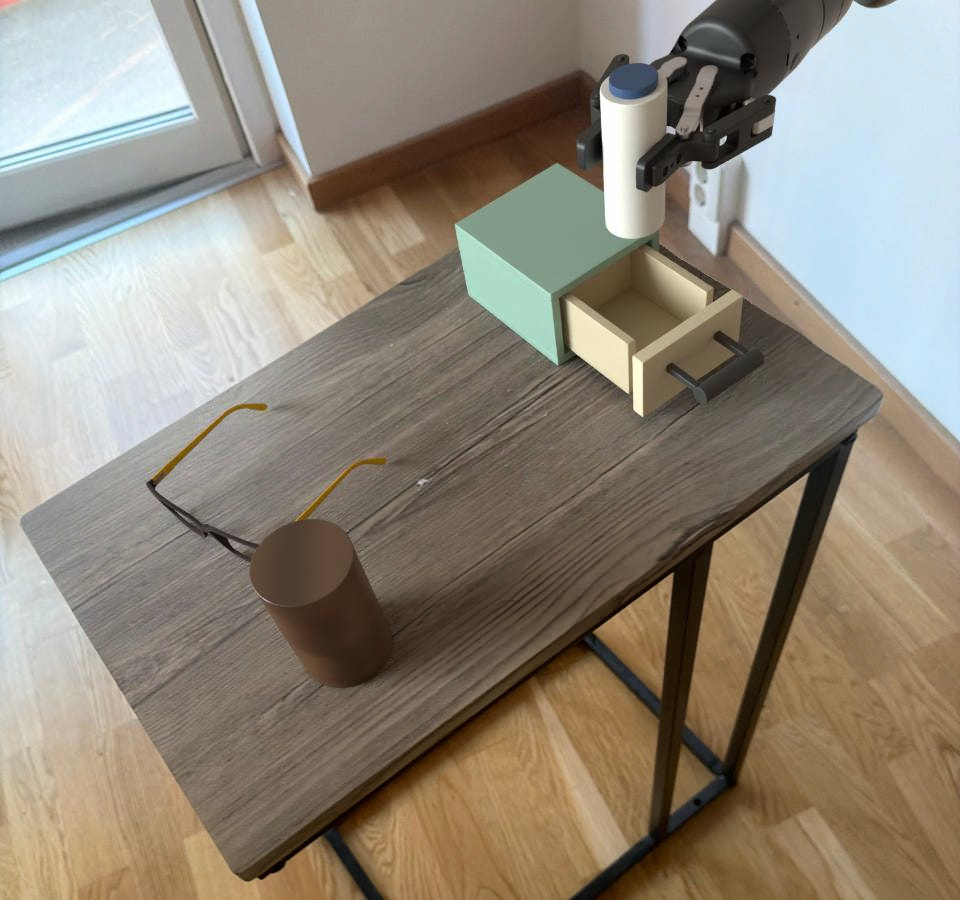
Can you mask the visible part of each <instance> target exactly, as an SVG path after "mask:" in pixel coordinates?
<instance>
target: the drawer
mask: <svg viewBox="0 0 960 900" xmlns="http://www.w3.org/2000/svg"><path fill="white" fill-rule="evenodd" d="M714 290H715V288H714V287H713V286H712V285H710V284H709V283H707V282H705V281H704V280H703V279H701V278H699V277H698V276H696V275H695V274H693V273H691V272H690V271H688V270H687V269H685V268H683V266H680V265H679V264H677V263H676V262H674V261H672V260H671V259H669V258H668V257H667V256H665V255H664V254H662V253H660V251H659V252H657V251H656V250H654V249H652V248H651V247H649V246H648V245H646V244H643V245H641V246H640V247H638V248H637V249H635V250H634V251H632V252H630V253H629V254H627V255H626V256H624V257H623V258H621V259H619V260H618V261H616V262H615V263H613V264H612V265H610V266H608V267H607V268H605V269H604V270H602V271H601V272H599V273H597V274H596V275H594V276H593V277H591V278H590V279H588V280H586V281H585V282H583V283H582V284H580V285H579V286H577V287H575V288H574V289H572V290H571V291H569V292H568V293H566V294H564V295H563V296H561V297H560V298H559V304H560V314H561V324H562V335H563V344H564V345H565V346H567V347H568V348H569V349H571V350H572V351H573V352H574V353H576V355H577V356H578V357H580V358H581V359H582V360H583V361H585V362H586V363H587V364H588V365H590V366H591V367H592V368H594V369H595V370H596V371H597V372H599V373H600V374H602V375H603V376H604V377H606V378H607V379H608V380H609V381H611V382H612V383H613V384H614V385H616V386H617V387H619V388H620V389H621V390H622V391H623V392H625V393H626V394H628V395H630V394H632V403H633V405H632V406H633V411H634V412H635V413H636V414H638V415H639V416H640V417H642V418H644V417H646V416H648V415H649V414H650V413H652V412H654V411H655V410H656V409H658V408H659V407H661V406H662V405H663V404H665V403H666V402H668V401H669V400H671V399H672V398H674V397H675V396H676V395H678V394H679V393H681V392H682V391H684V390H685V389H687V388H688V389H690V390H691V391H692V392H693V396H694V399H695V400H696V401H697V403H699V404H700V405H707V404H708V403H709V402H711V401H713V400H714V399H715V398H717V397H719V396H720V395H722V394H723V393H724V392H725V391H727V390H728V389H730V388H731V387H732V386H734V385H736V384H737V383H739V382H740V381H741V380H743V379H745V378H746V377H747V376H748V375H750V374H751V373H752V372H754V371H755V370H757V369H758V368H760V367H761V366H763V365H764V364H765V360H766V359H765V355H764V353H763V351H761V349H759V348H757V347H752V348H750V349H748V348H747V347H746V346H744V345H742V344H741V343H739V339H740V329H741V320H742V312H743V301H744V295H743V294H741V293H740V292H738V291H737V290H734V289H731V290H729V291H728V292H726V293H725V294H723V295H722V296H720V297H719V298H717V299H716V300H714V292H715V291H714ZM735 355H736V356H737V358H736V359H734V360H732V362H730V363H728V364H726V365H725V366H724V367H723V368H721V369H720V370H718V371H716V372H715V373H714V374H712V375H711V376H709V377H708V378H707V379H705V380H704V381H702V382H700V381H699V380H700V379H701V378H703V377H704V376H705V375H707V374H709V373H710V372H711V371H713V370H715V369H716V368H717V367H718V366H720V365H722V364H723V363H725V362H726V361H728V360H729V359H730V358H732V357H733V356H735Z"/></svg>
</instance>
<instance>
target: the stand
mask: <svg viewBox="0 0 960 900" xmlns="http://www.w3.org/2000/svg"><path fill="white" fill-rule="evenodd" d="M251 558H252V559H251V563H250V562H249V568H248V569H249V570H248V573H249V576H248V577H249V580H250V584H251V586H252V589H253V590H254V592H255V593H256V595H257V597H258V598H259V600H260V601H261V603H262V605H263V606H264V608H265V609H266V610H267V611H266V612H268V614H269V615H270V617H271V618H272V620H273V621H274V623H275V625H276V627H277V628H278V630H279V631H280V633H281V634H282V636H283V637H284V639H285V640H286V642H287V644H288V645H289V647H290V649H291V650H292V651H293V653H294V654H295V656H296V657H297V659H298V661H299V662H300V664H301V666H302V667H303V668H304V670H305V672H306V673H307V675H309V677H310V678H311V679H312V680H314V681H315V682H317V683H318V684H320V685H323V686H325V687H329V688H335V689H345V688H351V687H355V686H358V685H361V684H364V683H365V682H367V681H368V680H370V679H372V678H373V677H375V676H376V675H377V674H378V673H379V672H380V671H381V670H382V669H383V668H384V666H385V665H386V663H387V661H388V660H389V657H390V656H391V653H392V650H393V633H392V629H391V627H390V625H389V622H388V620H387V618H386V616H385V614H384V611H383V609H382V607H381V605H380V602H379V599H378V598H377V596H376V594H375V591H374V589H373V586H372V584H371V583H370V580H369V578H368V575H367V573H366V571H365V569H364V567H363V564H362V562H361V560H360V558H359V556H358V553H357V551H356V549H355V547H354V544H353V542H352V539H351V538H350V536H349V534H348V533H347V532H346V531H345V530H344V529H343V528H342V527H341V526H339V525H338V524H335V523H334V522H331V521H329V520H325V519H321V518H307V519H304V520H298V521H296V520H294V521H292V522H288V523H286V524H284V525H282V526H280V527H278V528H276V529H275V530H273V531H272V532H270V533H268V535H267V536H266V537H264V539H263V540H262V541H261V542H260V543H259V546H258V547H257V549H255V551H254V553H253V555H252V557H251Z"/></svg>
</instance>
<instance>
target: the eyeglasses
mask: <svg viewBox="0 0 960 900" xmlns="http://www.w3.org/2000/svg"><path fill="white" fill-rule="evenodd" d="M244 409H245V410H246V409H247V410H253V411H258V412H259V411H260V412H264V411H266V410H267V409H268V404H267V403H264V402H263V403H262V402H258V403H257V402H254V403H240V404H236V405H234V406H231V407H230V408H228V409H227V410H225V411H224V412H223V413H221V415H219V416H218V417H217V418H216V419H215V420H214V421H213V422H212V423H210V424H209V425H208V426H207V427H206V428H205V429H204V430H203V431H202V432H200V433H199V434H198V435H197V436H196V437H195V438H194V439H192V440H191V441H190V442H189V443H188V444H187V445H186V446H185V447H184V448H183V449H181V450H180V451H179V452H178V453H177V454H176V455H175V456H174V457H172V458H171V460H169V461H168V462H167V463H166V464H165V465H164V466H163V467H162V468H161V469H160V470H158V471H157V473H156V474H155V475H153V477H151V478H150V479H149V480H148V481H146V482H145V486H146V487H147V489H148V490H149V492H150V493H151V494H152V496H153V497H155V499H156V500H157V501H158V502H160V504H162V505H163V507H165V508H166V509H167V510H168V511H169V512H170V513H171V514H172V515H173V516H174V517H175V518H177V519H178V521H180V522H181V523H182V524H183V525H184V526H185V527H186V528H188V529H189V530H190V531H192V532H194V533H195V534H197V535H199V536H200V537H202V538H204V539H205V538H207V537H208V536H209V535H210V536H212V538H213V539H215V540H216V541H217V542H218V543H219V544H220V545H221V546H223V547H224V548H225V549H227V551H229V552H230V553H231V554H233V555H235V556H236V557H238V558H241V559H243V560H244V561H246V562H248V563H249V564H250V563H251V559H252V557H249V555H248V556H247V554H246V555H245V554H244V553H242V552H240V551H239V550H237V549H236V548H234V547H233V546H232V544H231V543H230V541H229V540H231V541H233V542H235V543H238V544H241V545H242V546H246V547H249V548H251V549H254V550H256V549H257V547H258V546H259V545H260V543H255V542H251V541H249V540H246V539H244V538H241V537H238V536H235V535H233V534H230V533H228V532H226V531H224V530H222V529H219V528H218V527H214V526H212V525H210V524H209V523H202V522H201V521H200V520H199V519H197V517H195V516H194V515H193V514H190V513H189V512H187V511H185V510H184V509H183V508H181V507H179V506H178V505H176V504H175V503H173V502H172V501H170V500H169V499H167V498H165V497H164V496H163V495H162V494H161V493H160V492H158V490H156V487H157V486H158V485H159V484H160V483H161V482H162V481H163V480H164V479H165V478H166V477H167V476H168V475H169V474H170V473H171V472H172V471H173V470H174V469H175V468H176V466H177V465H178V464H180V462H181V461H183V459H184V458H185V457H187V456H188V455H189V454H190V453H191V452H192V450H194V449H195V448H196V447H197V446H198V445H199V444H200V443H201V442H202V441H203V440H204V439H205V438H206V437H208V435H209V434H211V432H213V430H214V429H216V427H218V425H220V423H221V422H223V420H225V419H226V417H228V416H230V415H232V413H234V412H236V411H239V410H244ZM387 461H388V460H387V458H386V457H384V456H380V457H379V456H378V457H371V458H370V457H369V458H363V459H360V460H358V461H356V462H354V463H352V464H351V465H350V466H348V467H347V468H346V469H345V470H343V472H342V473H341V474H340V475H339V476H338V477H337V478H336V479H335V480H334V481H333V482H332V483H331V484H330V485H329V486H328V487H327V488H326V489H325V490H324V491H323V492H322V493H321V494H320V495H319V496H318V497H317V498H316V499H315V500H314V501H313V502H312V503H311V504H310V505H309V506H308V507H307V508H306V509H305V510H304V511H303V512H302V513H301V514H300V516H299V517H297V518H296V519H295V521H298V520H304V519H309V517H310V516H311V515H312V514H313V512H314V511H315V510H316V509H318V508H319V506H320V505H322V503H323V502H324V501H325V500H326V499H327V498H328V497H329V496H330V494H331V493H332V492H333V491H334V490H335V489H336V488H337V487H338V486H339V485H340V483H342V481H343V480H344V479H345V478H346V477H347V476H348V475H349V474H350V473H352V472H353V471H354V470H355V469H357V468H358V467H360V466H363V465H372V466H373V465H374V466H383V465H386V463H387ZM183 516H184V517H185V518H184V517H183ZM186 518H187V520H190V521H191V522H192V523H193V524H195V526H194V525H192V524H191V523H189V521H187V520H186Z"/></svg>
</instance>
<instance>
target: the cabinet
mask: <svg viewBox="0 0 960 900" xmlns="http://www.w3.org/2000/svg"><path fill="white" fill-rule="evenodd" d="M454 227H455V234H456V240H457V244H458V250H459V255H460V259H461V264H462V265H461V266H462V270H463V275H464V279H465V285H466V289H467V295H468V296H469V297H470V298H471V299H473V300H474V301H475V302H476V303H477V304H479V305H480V306H482V307H483V308H484V309H486V310H487V311H488V312H489V313H491V314H492V315H493V316H494V317H495V318H497V319H498V320H499V321H500V322H502V323H503V324H504V325H506V326H507V327H508V328H510V330H512V331H513V332H514V333H516V334H517V335H518V336H520V337H521V338H522V339H523V340H525V342H527V343H528V344H530V345H531V346H532V347H534V348H535V349H536V350H537V351H538V352H539V353H541V354H542V355H543V356H545V357H546V358H547V359H549V360H550V361H551V362H552V363H554V364H555V365H556V366H558V367H559V366H561V365H563V364H564V363H566V362H567V361H569V360H570V359H572V358H573V357H575V356H576V355H577V354H576V353H574V352H573V351H572V350H571V349H569V348H568V347H567V346H565V345H564V344H563V335H562V324H561V314H560V304H559V298H560V297H561V296H563V295H564V294H566V293H568V292H569V291H571V290H572V289H574V288H575V287H577V286H579V285H580V284H582V283H583V282H585V281H586V280H588V279H590V278H591V277H593V276H594V275H596V274H597V273H599V272H601V271H602V270H604V269H605V268H607V267H608V266H610V265H612V264H613V263H615V262H616V261H618V260H619V259H621V258H623V257H624V256H626V255H627V254H629V253H630V252H632V251H634V250H635V249H637V248H638V247H640V246H641V245H643V244H646V245H648V246H649V247H651V248H652V249H654V250H656V251H657V252H659V253H660V229H659V230H657V231H656V232H655V233H653V234H651V235H649V236H646V237H643V238H637V239H626V238H621V237H618V236H616V235H614V234H612V233H611V232H610V231H609V230H608V228H607V226H606V220H605V196H604V190H602V189H601V188H598V187H597V186H596V185H593V184H592V183H591V182H589V181H587V180H586V179H584V178H582V177H580V175H577V174H576V173H574V172H572V170H570V169H568V168H567V167H564V166H563V165H562V164H560V163H558V162H556V163H554V164H552V165H551V166H550V167H548V168H546V169H544V170H543V171H541V172H539V173H538V174H536V175H534V176H533V177H531V178H530V179H527V180H526V181H524V182H523V183H521V184H520V185H518V186H516V187H514V188H512V189H511V190H509V191H508V192H506V193H504V194H502V195H501V196H499V197H498V198H496V199H494V200H493V201H491V202H489V203H487V204H486V205H484V206H483V207H481V208H479V209H478V210H476V211H474V212H472V213H471V214H469V215H468V216H466V217H464V218H463V219H460V220H459V221H458V222H455V223H454Z"/></svg>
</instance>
